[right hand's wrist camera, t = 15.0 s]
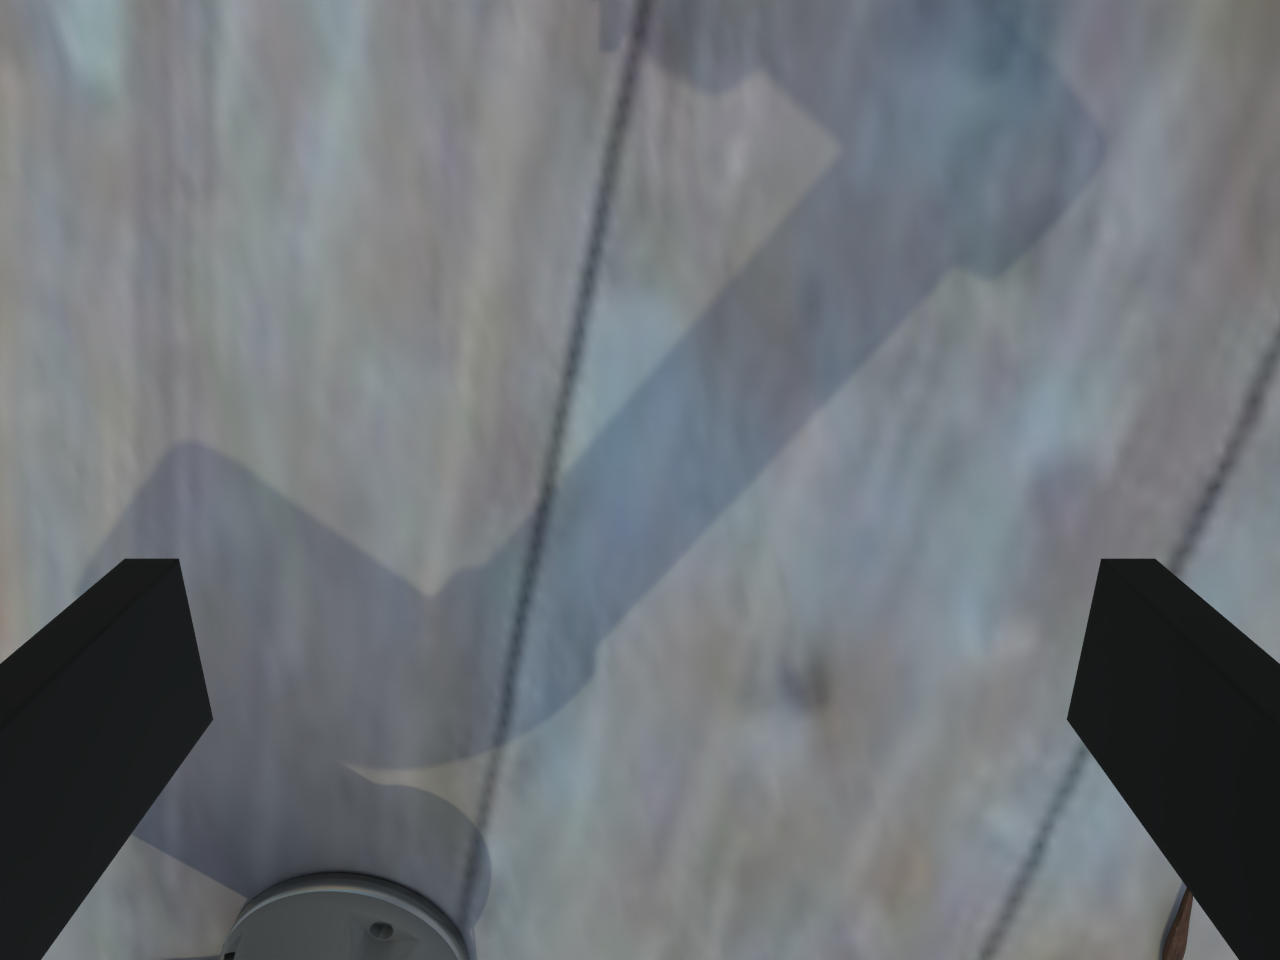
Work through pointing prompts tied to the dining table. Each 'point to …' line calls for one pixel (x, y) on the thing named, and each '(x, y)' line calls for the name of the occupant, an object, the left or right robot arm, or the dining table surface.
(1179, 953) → the fork
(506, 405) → the dining table surface
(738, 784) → the dining table surface
